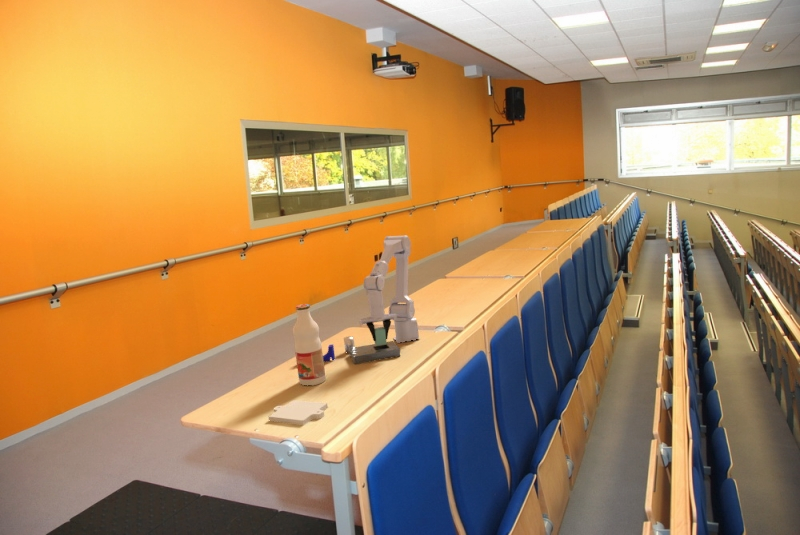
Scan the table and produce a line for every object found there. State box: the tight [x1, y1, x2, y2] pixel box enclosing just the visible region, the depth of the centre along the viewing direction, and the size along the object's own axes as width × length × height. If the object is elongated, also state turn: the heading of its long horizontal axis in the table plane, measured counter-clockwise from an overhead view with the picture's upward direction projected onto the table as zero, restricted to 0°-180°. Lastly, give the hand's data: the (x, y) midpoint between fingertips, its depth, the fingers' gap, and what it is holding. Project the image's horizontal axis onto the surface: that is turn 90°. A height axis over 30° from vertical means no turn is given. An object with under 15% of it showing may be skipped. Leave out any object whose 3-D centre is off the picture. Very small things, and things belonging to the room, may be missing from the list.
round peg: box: [343, 335, 356, 354], centre depth 247 cm, size 4×4×6 cm
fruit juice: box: [292, 303, 326, 387], centre depth 215 cm, size 9×9×28 cm
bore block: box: [348, 340, 401, 365], centre depth 239 cm, size 18×12×3 cm, turn 103°
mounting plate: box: [268, 399, 329, 426], centre depth 188 cm, size 18×13×2 cm
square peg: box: [374, 326, 388, 346], centre depth 238 cm, size 4×4×6 cm
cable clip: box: [323, 344, 336, 362], centre depth 239 cm, size 12×4×6 cm, turn 87°
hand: (380, 339), depth 238 cm, fingers closed on square peg, 4 cm apart
